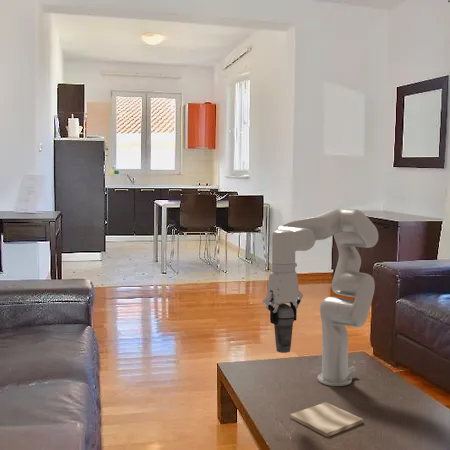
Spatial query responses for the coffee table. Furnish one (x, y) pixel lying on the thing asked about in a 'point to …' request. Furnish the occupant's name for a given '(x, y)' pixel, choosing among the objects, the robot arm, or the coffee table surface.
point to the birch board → (326, 419)
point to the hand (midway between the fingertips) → (283, 321)
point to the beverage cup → (284, 328)
